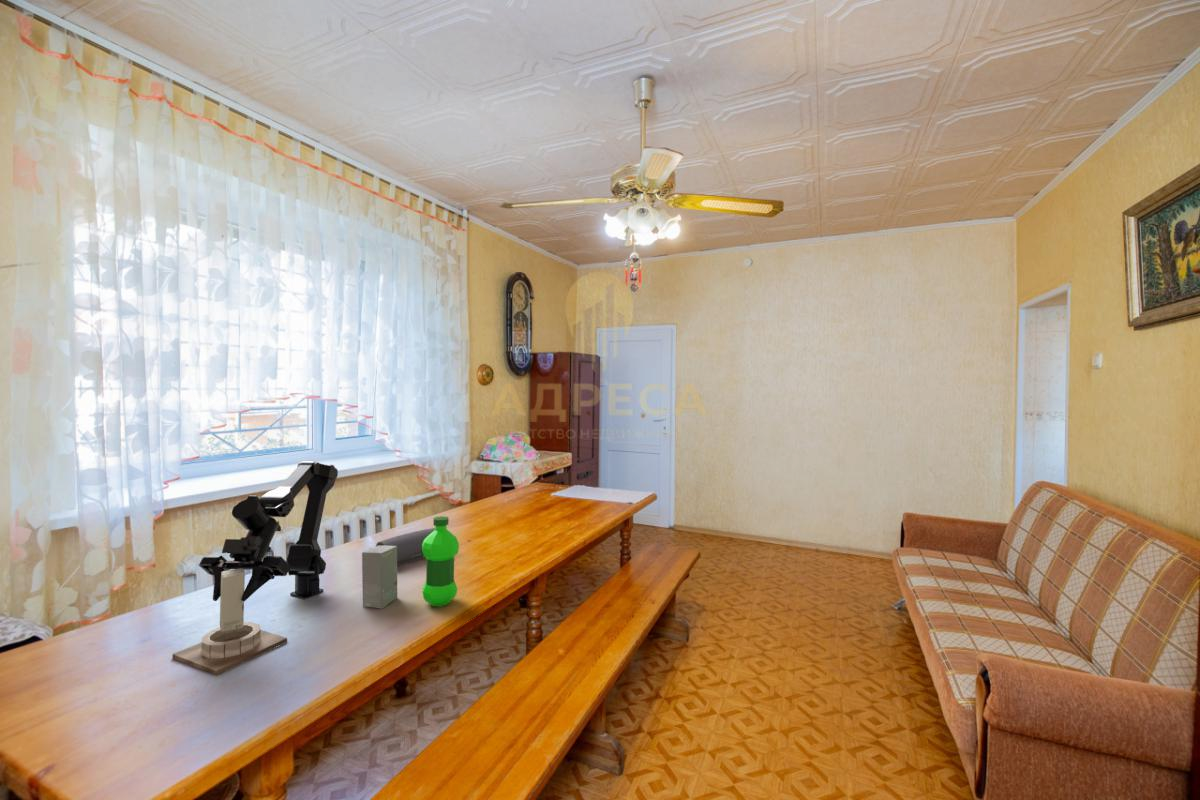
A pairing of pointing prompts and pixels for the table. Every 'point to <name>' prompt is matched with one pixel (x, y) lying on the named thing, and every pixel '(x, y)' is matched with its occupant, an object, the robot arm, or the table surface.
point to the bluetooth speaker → (408, 545)
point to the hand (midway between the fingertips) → (228, 600)
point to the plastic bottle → (440, 563)
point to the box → (232, 599)
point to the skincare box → (379, 576)
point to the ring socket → (229, 648)
